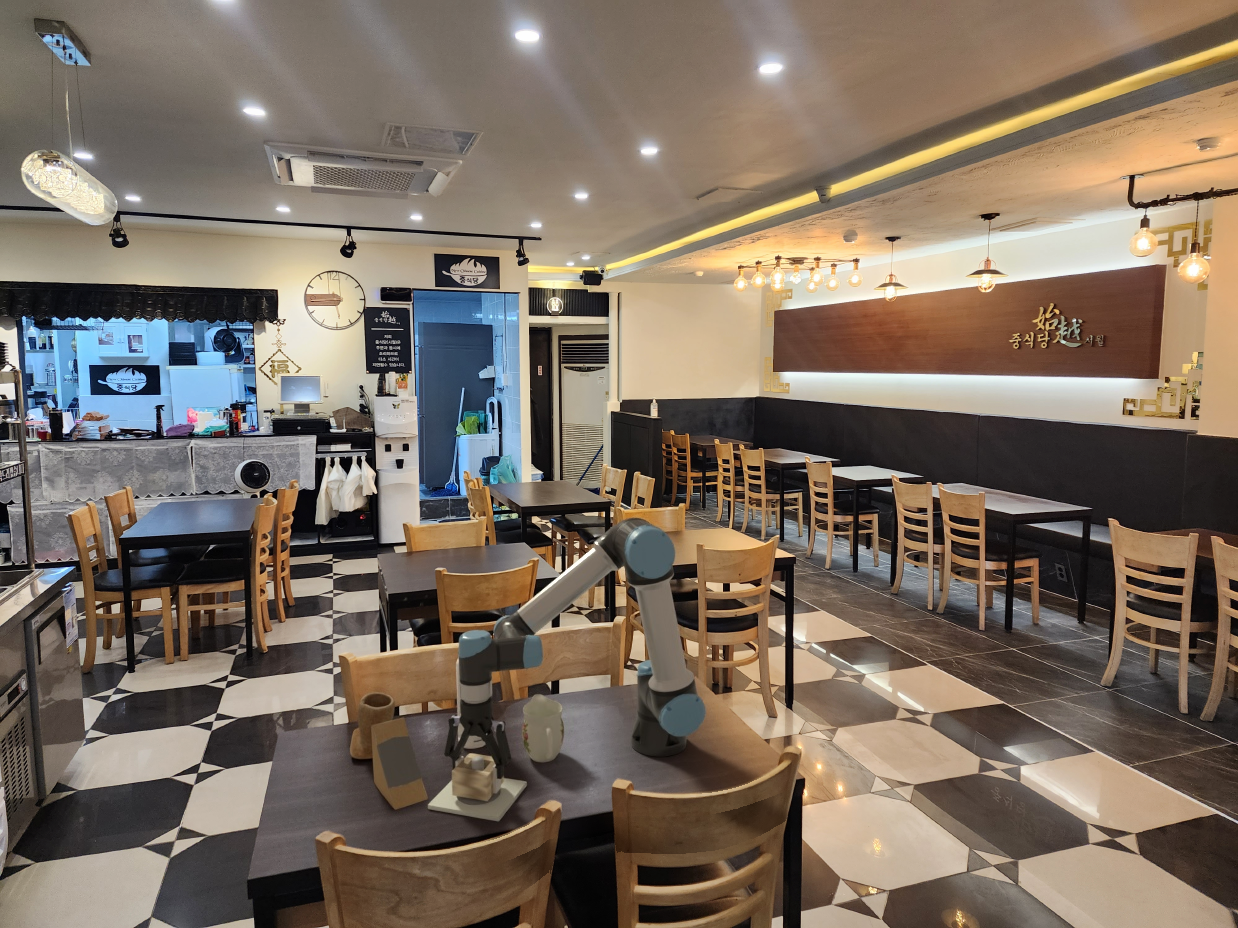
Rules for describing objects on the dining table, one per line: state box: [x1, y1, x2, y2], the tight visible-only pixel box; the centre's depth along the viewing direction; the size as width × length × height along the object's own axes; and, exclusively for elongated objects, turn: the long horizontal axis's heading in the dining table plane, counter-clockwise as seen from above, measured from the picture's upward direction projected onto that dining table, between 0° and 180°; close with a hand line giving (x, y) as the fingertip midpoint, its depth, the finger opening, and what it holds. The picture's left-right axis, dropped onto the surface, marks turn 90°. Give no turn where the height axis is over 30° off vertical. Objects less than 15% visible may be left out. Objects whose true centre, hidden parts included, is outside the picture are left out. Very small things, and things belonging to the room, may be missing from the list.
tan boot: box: [349, 691, 396, 760], centre depth 211 cm, size 15×12×15 cm
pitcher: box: [521, 693, 565, 763], centre depth 206 cm, size 11×18×14 cm, turn 16°
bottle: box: [455, 657, 487, 750], centre depth 214 cm, size 8×8×28 cm
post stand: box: [427, 756, 528, 822], centre depth 187 cm, size 18×16×10 cm
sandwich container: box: [371, 717, 429, 810], centre depth 190 cm, size 9×15×15 cm, turn 35°
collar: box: [451, 752, 505, 801], centre depth 187 cm, size 9×9×6 cm
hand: (478, 787), depth 188 cm, fingers closed on collar, 9 cm apart
